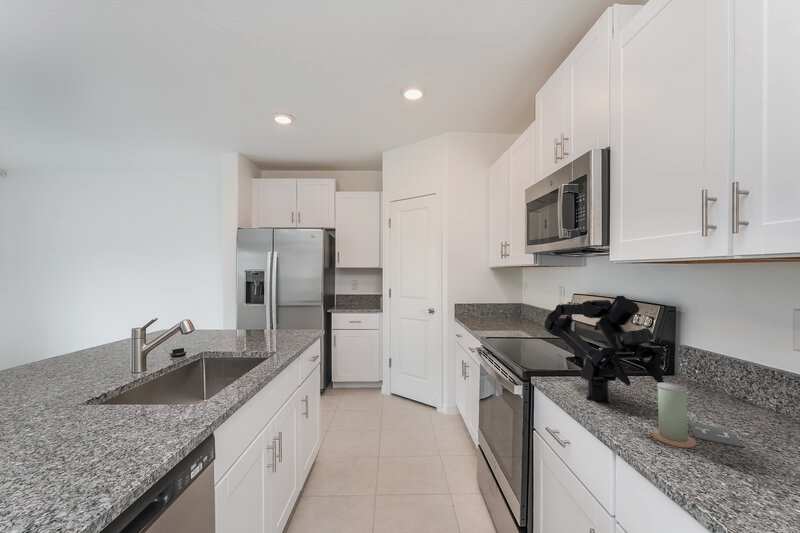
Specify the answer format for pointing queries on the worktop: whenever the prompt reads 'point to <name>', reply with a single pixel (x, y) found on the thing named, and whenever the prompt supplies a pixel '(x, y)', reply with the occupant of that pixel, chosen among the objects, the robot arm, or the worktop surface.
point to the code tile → (714, 434)
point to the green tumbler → (672, 411)
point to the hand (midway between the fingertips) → (645, 384)
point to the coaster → (688, 444)
